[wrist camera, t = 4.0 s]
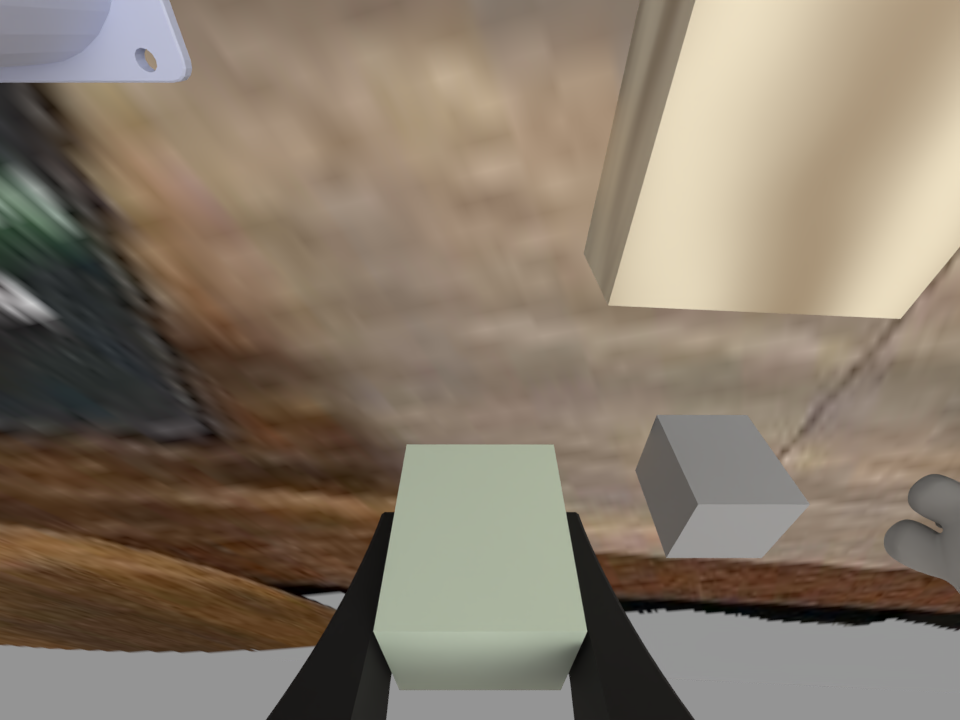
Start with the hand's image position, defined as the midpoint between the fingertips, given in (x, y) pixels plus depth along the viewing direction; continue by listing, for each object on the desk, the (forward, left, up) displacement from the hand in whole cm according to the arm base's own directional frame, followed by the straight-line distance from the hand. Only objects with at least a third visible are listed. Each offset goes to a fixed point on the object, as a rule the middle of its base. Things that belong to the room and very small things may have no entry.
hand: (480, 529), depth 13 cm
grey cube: (+11, -5, -8) cm, 14 cm away
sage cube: (0, 0, -2) cm, 2 cm away
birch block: (+9, +10, -8) cm, 15 cm away
